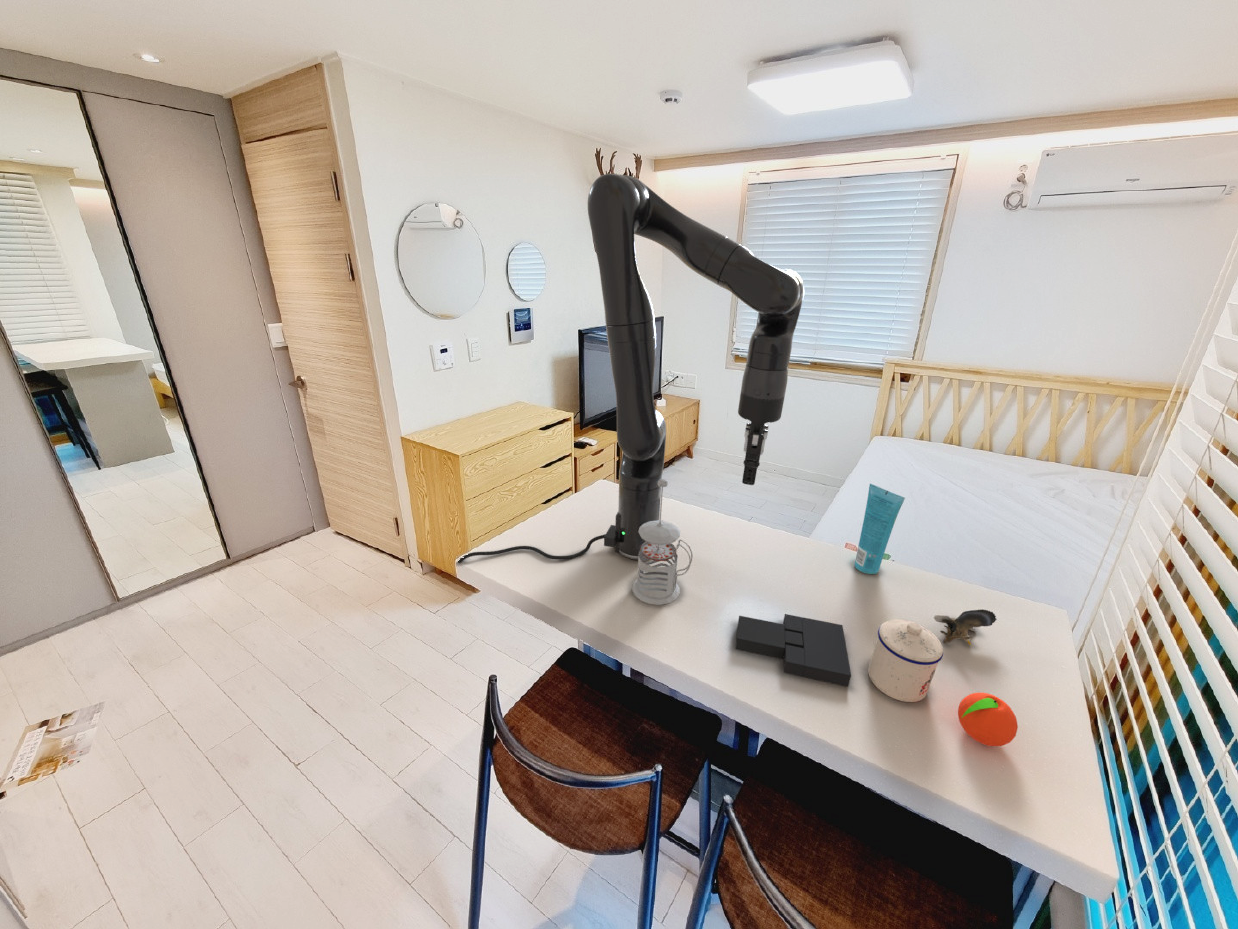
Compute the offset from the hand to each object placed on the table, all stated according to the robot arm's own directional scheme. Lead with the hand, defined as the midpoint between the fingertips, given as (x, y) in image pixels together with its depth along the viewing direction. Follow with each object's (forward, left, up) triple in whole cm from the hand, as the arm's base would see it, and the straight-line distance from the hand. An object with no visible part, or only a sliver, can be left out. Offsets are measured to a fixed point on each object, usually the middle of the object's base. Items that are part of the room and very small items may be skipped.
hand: (749, 474), depth 95 cm
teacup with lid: (+28, -17, -25) cm, 41 cm away
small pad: (+7, -16, -25) cm, 31 cm away
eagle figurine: (+41, -4, -25) cm, 48 cm away
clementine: (+37, -26, -25) cm, 52 cm away
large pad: (+15, -16, -25) cm, 33 cm away
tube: (+28, +14, -25) cm, 40 cm away
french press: (-14, -7, -25) cm, 30 cm away
